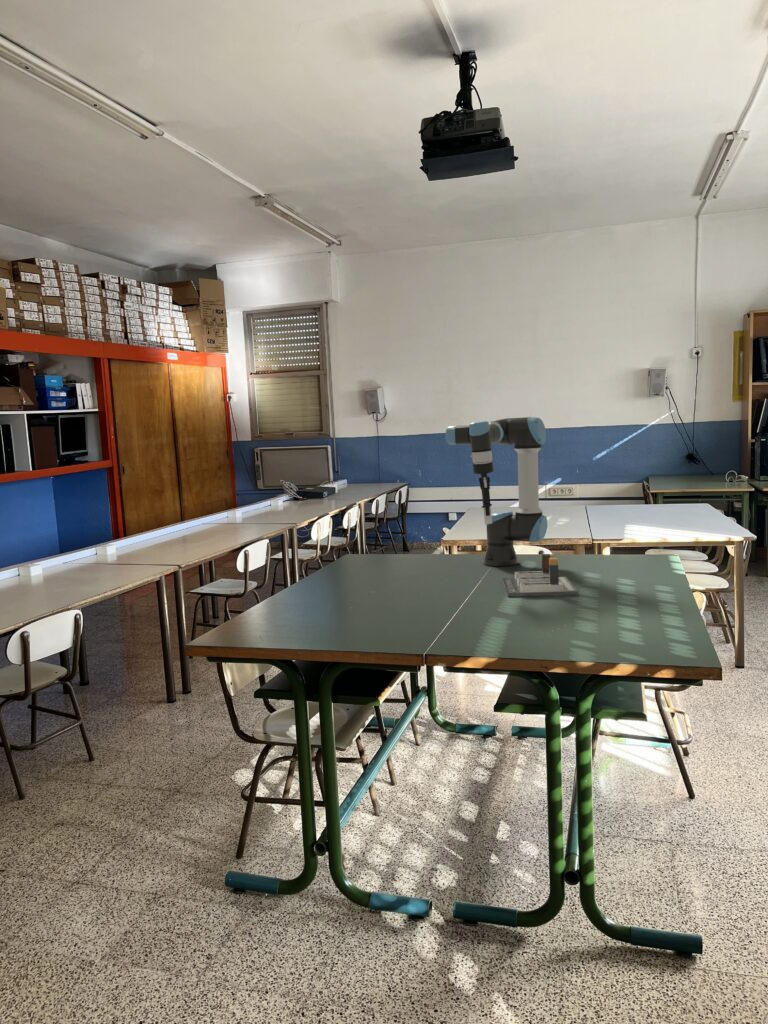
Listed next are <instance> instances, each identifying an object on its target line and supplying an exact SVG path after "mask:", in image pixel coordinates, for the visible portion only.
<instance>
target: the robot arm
mask: <svg viewBox="0 0 768 1024" xmlns="http://www.w3.org/2000/svg"><path fill="white" fill-rule="evenodd" d="M444 436H445V441H446V443H447V444H448V445H450V446H459V445H461V446H462V445H470V447H471V448H470V449H471V455H470V458H472V459H471V460H472V462H473V464H472V470H473V474H474V475H480V477H478V482H479V487H480V488H479V489H480V490H481V498H482V505H481V508H482V509H483V517H484V525H485V527H486V550H485V553H484V557H483V565H485V566H491V567H510V566H514V565H517V564H518V563H519V562H518V561H519V560H518V556H517V552H516V550H515V547H514V542H530V543H539V542H541V541H543V540H544V538H545V536H546V535H547V530H548V518H547V516H546V515H544V514H543V510H542V509H541V508H540V506H539V505H540V504H539V503H540V501H539V497H540V495H539V452H540V450H542V445H544V444H545V443H546V440H547V430H546V426H545V423H544V421H543V420H542V418H540V417H535V416H527V417H526V416H525V417H507V418H502V419H501V418H500V419H497V420H490V421H487V420H482V421H473V422H471V423H469V424H467V425H451V426H447V428H446V430H445V435H444ZM493 444H497V445H505V446H506V445H508V446H509V445H510V446H512V445H513V450H514V451H515V452H516V453H517V473H518V474H517V479H518V480H517V481H518V482H517V483H518V485H517V486H518V487H517V489H518V508H517V509H516V510H515V514H514V512H513V511H512V510H507V511H500V512H499V511H497V512H494V513H493V512H492V510H491V506H493V505H492V503H491V495H490V493H491V492H490V489H491V487H490V485H491V484H490V482H491V478H490V477H489V476H488V474H491V473H493V472H494V464H493V461H494V460H493V451H492V445H493Z"/></svg>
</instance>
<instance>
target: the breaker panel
mask: <svg viewBox="0 0 768 1024" xmlns="http://www.w3.org/2000/svg"><path fill="white" fill-rule="evenodd" d="M549 558H551V554H550V553H546V554H545V553H543V554H541V570H538V571H536V570H534V571H533V570H532V571H514V577H513V578H511V577H508V578H507V577H506V578H505V577H504V578H502V581H501V583H502V585H503V588H504V590H505V593H506V595H507V597H508V598H519V597H522V598H525V597H553V596H554V597H555V596H557V597H559V596H560V597H561V596H564V597H565V596H578V590H577V588H576V587H575V586H574V585H573V584H572V582H571V581H570V579H568V577H567V576H559V563H558V564H549Z"/></svg>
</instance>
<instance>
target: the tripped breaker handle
mask: <svg viewBox="0 0 768 1024" xmlns="http://www.w3.org/2000/svg"><path fill="white" fill-rule="evenodd" d="M549 564H558V565H559V558H557V557H550V558H549Z"/></svg>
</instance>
